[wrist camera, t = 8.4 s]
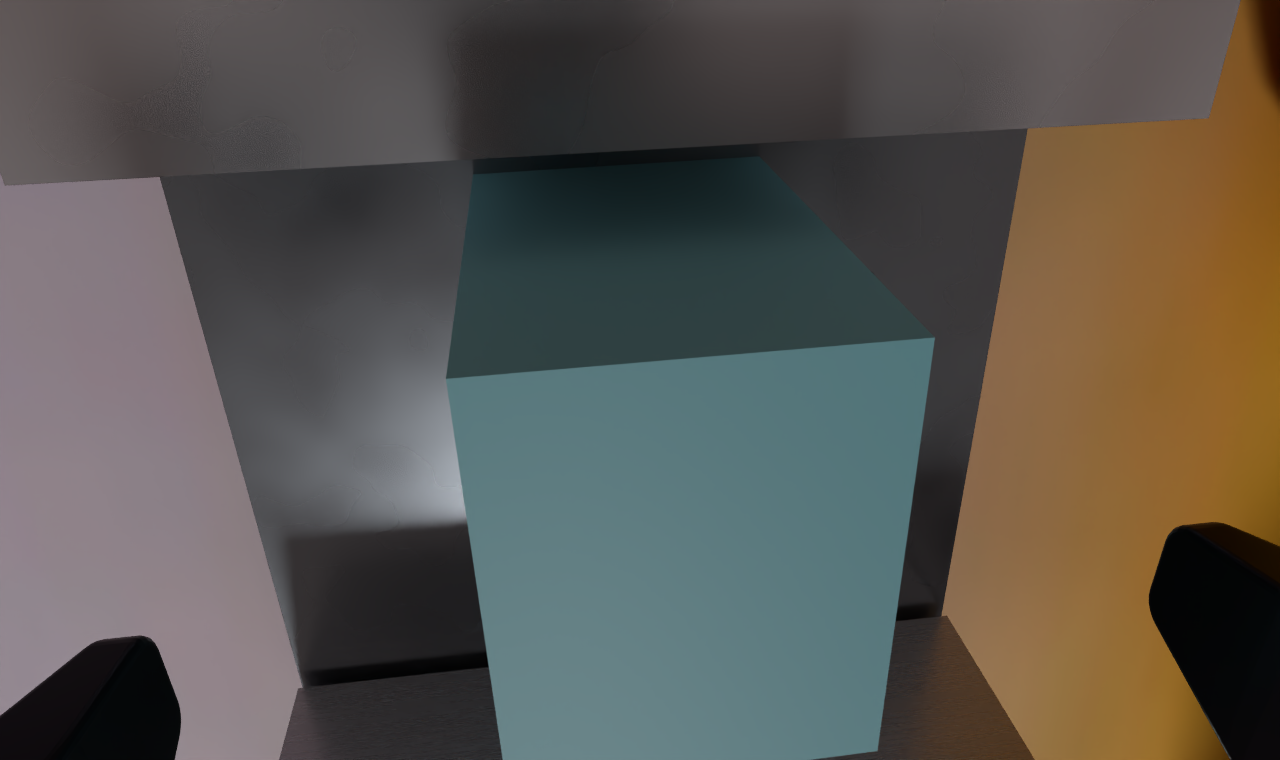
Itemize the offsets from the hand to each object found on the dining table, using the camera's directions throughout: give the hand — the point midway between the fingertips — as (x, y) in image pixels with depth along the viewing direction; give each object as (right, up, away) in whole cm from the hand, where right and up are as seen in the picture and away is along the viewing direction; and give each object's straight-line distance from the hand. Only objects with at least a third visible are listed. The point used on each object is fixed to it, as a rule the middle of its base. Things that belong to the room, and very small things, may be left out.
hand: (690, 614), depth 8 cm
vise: (-1, +1, +8) cm, 8 cm away
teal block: (-1, +3, +6) cm, 6 cm away
